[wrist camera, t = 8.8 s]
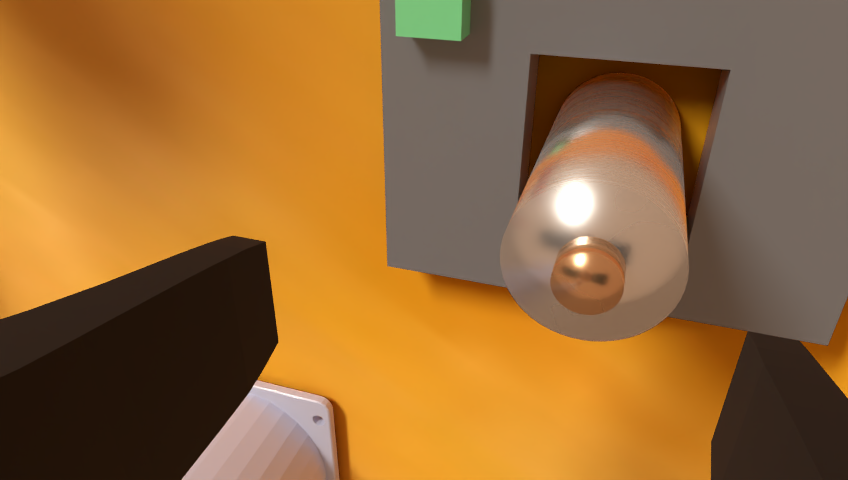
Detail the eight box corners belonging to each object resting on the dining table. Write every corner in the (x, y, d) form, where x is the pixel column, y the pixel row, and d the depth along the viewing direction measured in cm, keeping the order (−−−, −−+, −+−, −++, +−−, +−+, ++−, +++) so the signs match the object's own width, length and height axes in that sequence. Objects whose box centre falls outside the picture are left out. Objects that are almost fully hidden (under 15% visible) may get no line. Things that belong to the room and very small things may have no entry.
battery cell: (671, 193, 17) (674, 376, 11) (551, 182, 18) (491, 345, 12) (689, 75, 16) (706, 208, 9) (558, 69, 17) (493, 188, 10)
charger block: (816, 312, 18) (834, 365, 16) (404, 242, 21) (377, 279, 19) (952, -46, 13) (1001, -32, 11) (400, -64, 16) (364, -56, 14)
